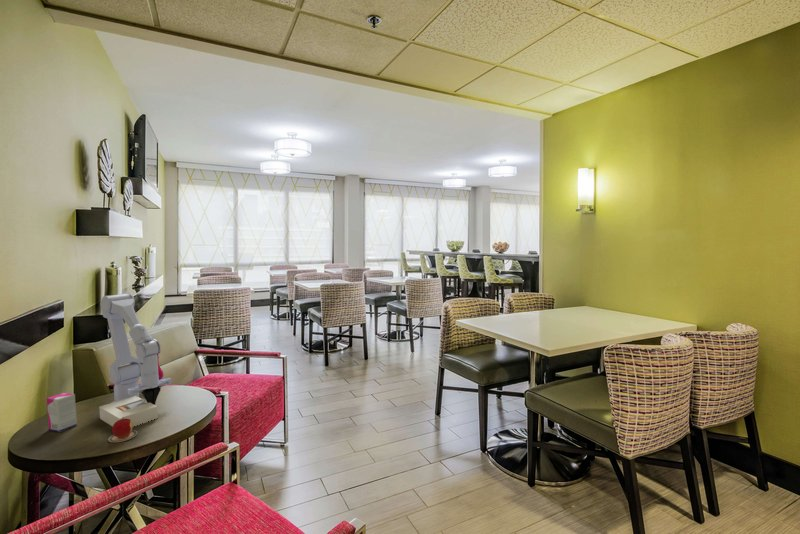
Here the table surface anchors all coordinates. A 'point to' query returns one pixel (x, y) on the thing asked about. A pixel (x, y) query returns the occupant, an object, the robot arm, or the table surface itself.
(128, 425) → the red rounded piece
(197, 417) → the table surface
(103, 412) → the socket housing
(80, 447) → the table surface
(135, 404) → the plug
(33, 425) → the table surface
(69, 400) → the supplement box
